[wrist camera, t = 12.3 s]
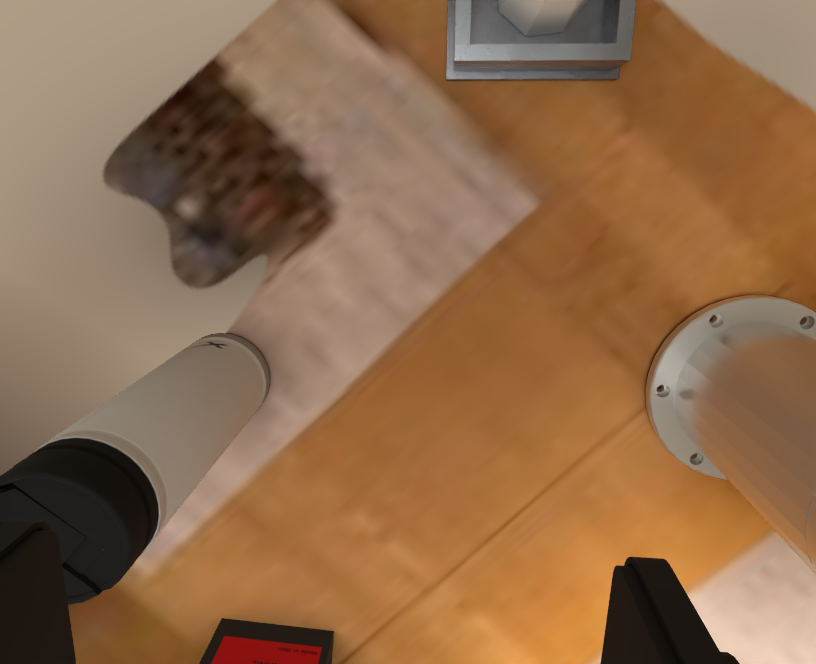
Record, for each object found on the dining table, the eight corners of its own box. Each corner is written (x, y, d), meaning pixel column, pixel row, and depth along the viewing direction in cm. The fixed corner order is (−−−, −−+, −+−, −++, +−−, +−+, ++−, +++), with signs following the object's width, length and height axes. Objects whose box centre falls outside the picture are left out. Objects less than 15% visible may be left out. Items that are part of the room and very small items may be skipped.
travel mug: (214, 310, 40) (3, 436, 21) (289, 374, 41) (152, 551, 22) (161, 373, 42) (-83, 545, 22) (234, 433, 42) (60, 649, 23)
